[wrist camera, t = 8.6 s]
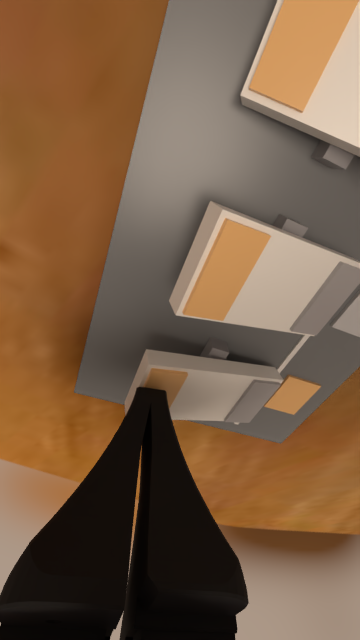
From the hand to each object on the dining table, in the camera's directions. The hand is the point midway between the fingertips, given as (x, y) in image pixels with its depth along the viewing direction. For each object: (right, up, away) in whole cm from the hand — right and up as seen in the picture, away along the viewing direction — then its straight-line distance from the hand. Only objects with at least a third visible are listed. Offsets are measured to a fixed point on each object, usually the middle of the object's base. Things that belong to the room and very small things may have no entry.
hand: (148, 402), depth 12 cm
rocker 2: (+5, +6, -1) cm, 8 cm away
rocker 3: (+3, 0, +2) cm, 4 cm away
